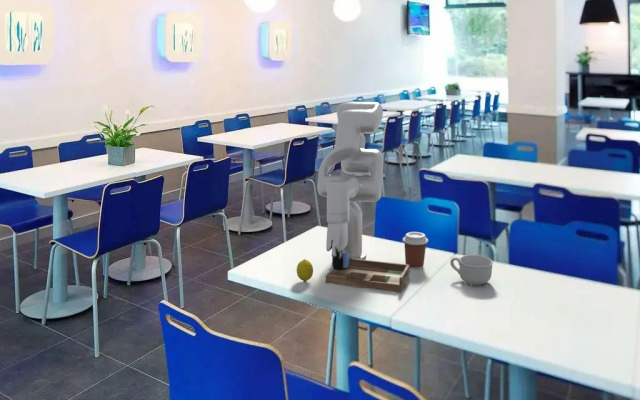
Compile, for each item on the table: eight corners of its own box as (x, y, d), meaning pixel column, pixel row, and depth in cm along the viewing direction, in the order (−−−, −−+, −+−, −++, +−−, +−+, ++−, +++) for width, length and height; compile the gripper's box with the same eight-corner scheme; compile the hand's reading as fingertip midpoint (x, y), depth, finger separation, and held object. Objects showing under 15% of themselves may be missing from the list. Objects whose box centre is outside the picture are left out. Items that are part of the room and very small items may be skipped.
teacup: (497, 281, 190) (498, 259, 188) (481, 291, 182) (483, 267, 180) (460, 272, 199) (461, 250, 197) (443, 280, 191) (444, 258, 190)
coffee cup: (432, 267, 204) (433, 235, 201) (414, 272, 199) (415, 240, 196) (414, 260, 211) (415, 229, 209) (396, 265, 206) (397, 233, 204)
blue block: (335, 265, 200) (336, 251, 200) (349, 266, 198) (349, 252, 198) (331, 266, 195) (332, 252, 195) (345, 267, 194) (346, 253, 194)
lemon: (311, 285, 189) (310, 262, 187) (295, 284, 190) (294, 261, 188) (314, 279, 194) (314, 257, 192) (299, 278, 195) (298, 256, 193)
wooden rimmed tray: (337, 270, 202) (337, 256, 201) (409, 278, 194) (409, 264, 192) (325, 283, 190) (325, 269, 189) (401, 292, 182) (401, 277, 181)
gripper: (334, 211, 197) (334, 261, 201) (320, 221, 183) (320, 274, 187) (355, 212, 194) (354, 263, 198) (342, 223, 181) (342, 277, 184)
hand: (338, 268), depth 193 cm, fingers closed
